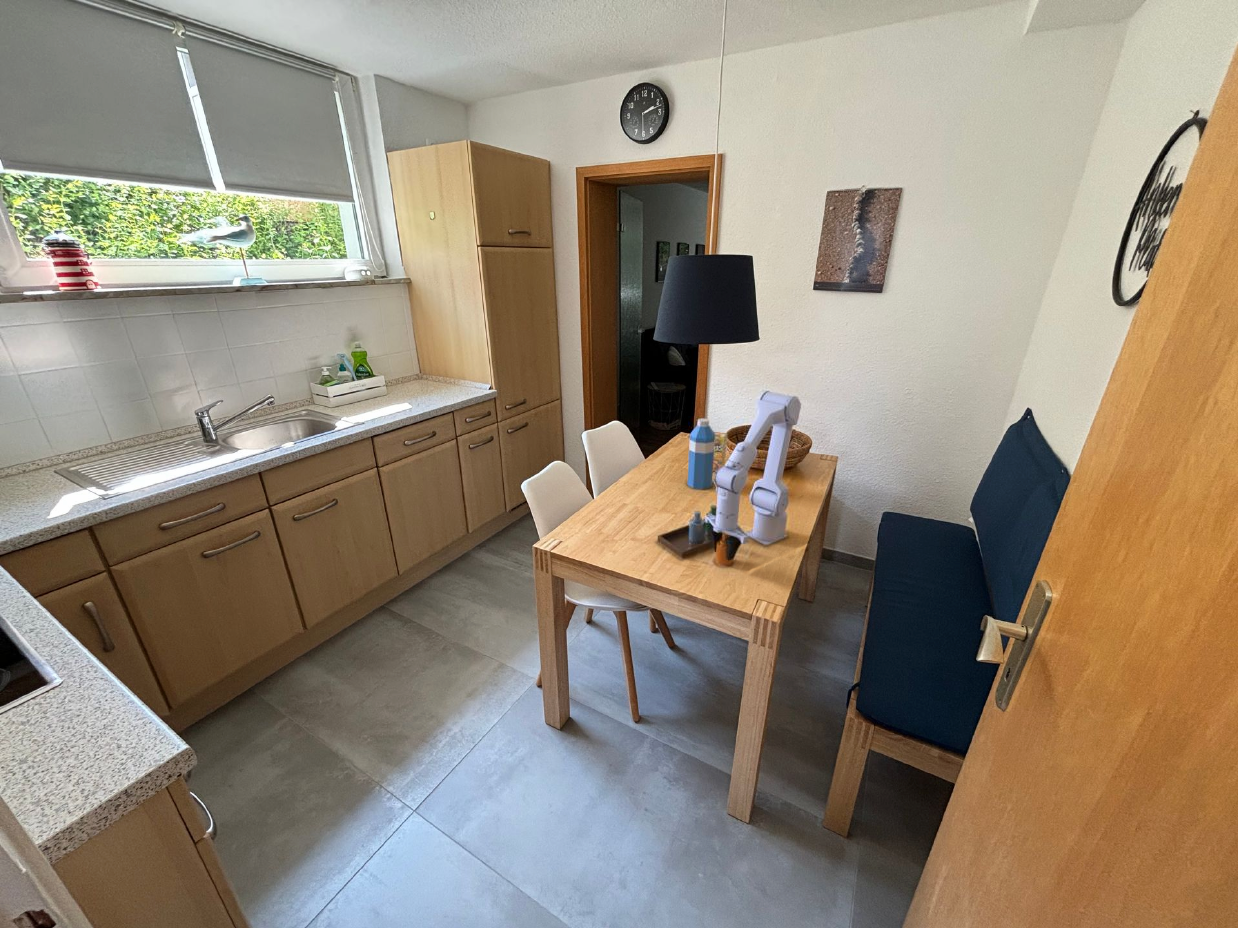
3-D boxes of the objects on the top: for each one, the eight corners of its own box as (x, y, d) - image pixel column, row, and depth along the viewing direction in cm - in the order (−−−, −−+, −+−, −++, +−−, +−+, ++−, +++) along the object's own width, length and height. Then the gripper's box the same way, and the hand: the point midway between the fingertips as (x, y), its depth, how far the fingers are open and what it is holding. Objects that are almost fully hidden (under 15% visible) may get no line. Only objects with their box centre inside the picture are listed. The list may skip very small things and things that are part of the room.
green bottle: (712, 528, 154) (714, 501, 151) (722, 533, 151) (724, 507, 147) (701, 532, 152) (703, 505, 148) (711, 538, 148) (713, 511, 145)
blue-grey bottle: (696, 533, 151) (698, 507, 147) (706, 540, 147) (708, 513, 144) (685, 538, 148) (686, 511, 145) (695, 544, 145) (696, 517, 142)
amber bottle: (723, 556, 140) (725, 528, 137) (735, 563, 137) (737, 534, 133) (712, 561, 138) (714, 532, 134) (723, 568, 134) (725, 539, 131)
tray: (708, 523, 157) (708, 517, 157) (733, 538, 149) (734, 532, 148) (657, 542, 147) (657, 535, 146) (682, 559, 138) (682, 552, 138)
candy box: (700, 469, 199) (702, 433, 194) (703, 465, 203) (705, 430, 197) (721, 473, 195) (724, 436, 190) (724, 469, 199) (727, 433, 193)
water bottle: (695, 477, 192) (698, 414, 183) (717, 483, 186) (721, 419, 177) (682, 485, 185) (685, 420, 176) (704, 491, 180) (708, 425, 170)
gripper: (697, 504, 135) (695, 547, 140) (736, 525, 123) (732, 571, 129) (716, 497, 138) (713, 540, 143) (756, 518, 127) (751, 563, 132)
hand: (724, 554), depth 136 cm, fingers closed on amber bottle, 4 cm apart
